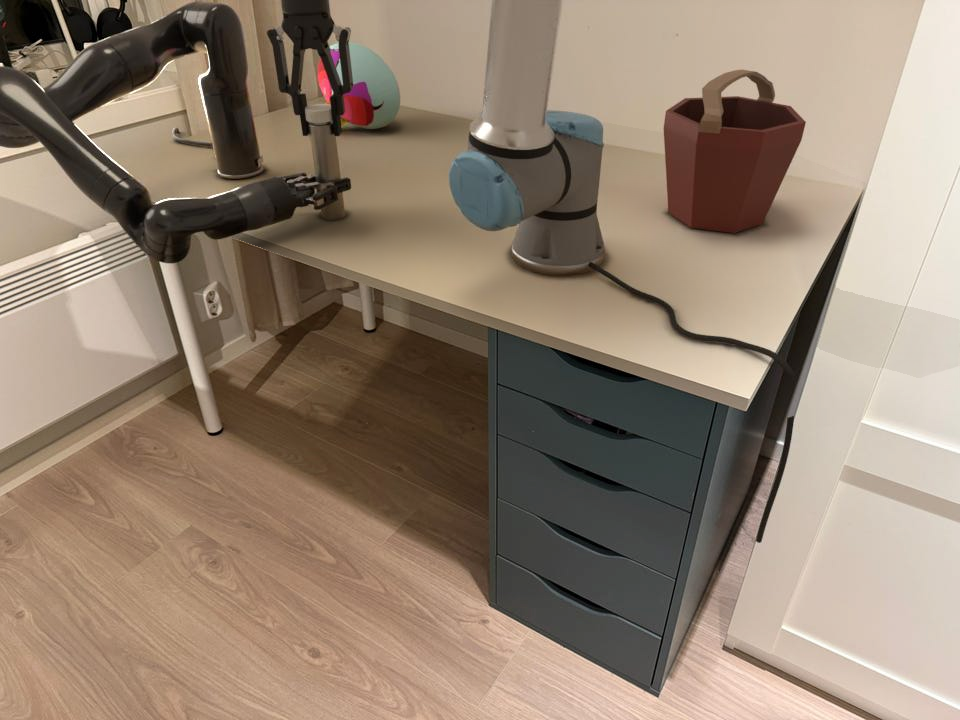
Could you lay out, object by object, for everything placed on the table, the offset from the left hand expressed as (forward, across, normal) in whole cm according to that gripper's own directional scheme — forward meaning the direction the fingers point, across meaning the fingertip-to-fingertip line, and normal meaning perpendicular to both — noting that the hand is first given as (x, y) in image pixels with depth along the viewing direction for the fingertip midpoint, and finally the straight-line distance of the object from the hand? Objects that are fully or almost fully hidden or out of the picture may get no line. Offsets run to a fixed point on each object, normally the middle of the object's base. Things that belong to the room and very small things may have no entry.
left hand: (341, 179), depth 131 cm
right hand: (-3, 0, +9) cm, 9 cm away
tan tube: (-3, 0, -6) cm, 7 cm away
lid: (-3, 0, +13) cm, 14 cm away
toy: (+34, -44, -6) cm, 56 cm away
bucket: (+47, +51, -6) cm, 70 cm away
